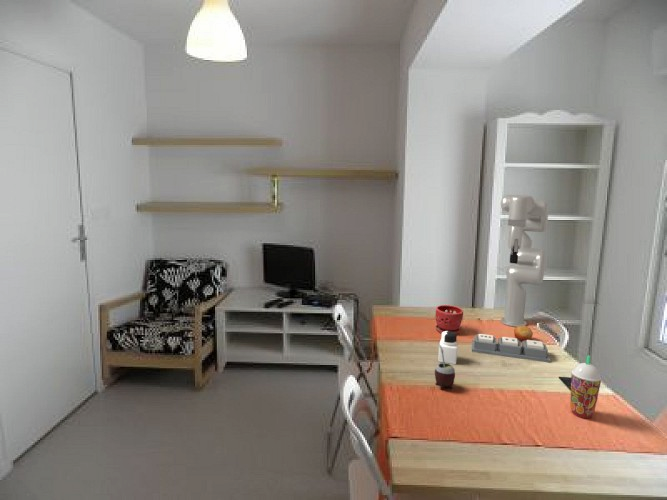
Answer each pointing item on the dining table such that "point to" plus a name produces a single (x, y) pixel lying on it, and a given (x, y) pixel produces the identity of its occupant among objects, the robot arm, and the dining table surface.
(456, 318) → the plant pot
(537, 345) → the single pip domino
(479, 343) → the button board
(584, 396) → the smoothie
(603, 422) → the dining table surface
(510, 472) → the dining table surface
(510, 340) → the two dot tile
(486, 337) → the three dot tile
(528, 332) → the fruit
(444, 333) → the medicine bottle
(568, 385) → the smartphone
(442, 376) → the mate gourd
